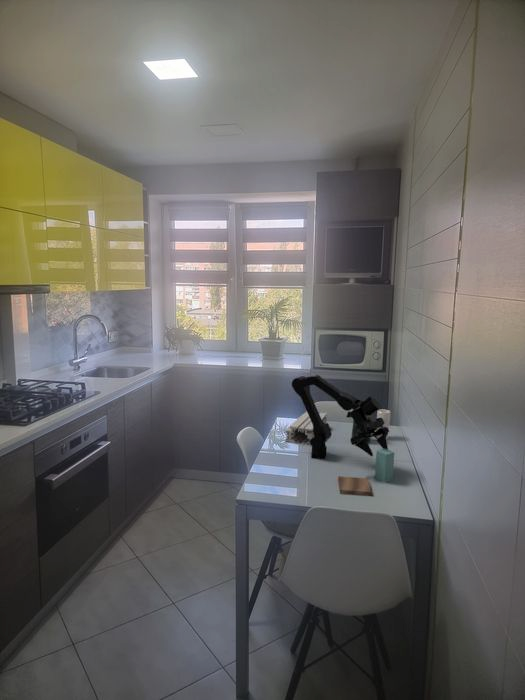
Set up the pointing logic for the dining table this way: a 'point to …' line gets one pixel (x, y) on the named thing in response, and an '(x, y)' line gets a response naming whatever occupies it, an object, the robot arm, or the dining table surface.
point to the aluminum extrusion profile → (302, 430)
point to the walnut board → (354, 486)
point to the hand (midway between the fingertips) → (379, 453)
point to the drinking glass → (384, 418)
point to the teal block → (384, 465)
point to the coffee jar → (355, 431)
